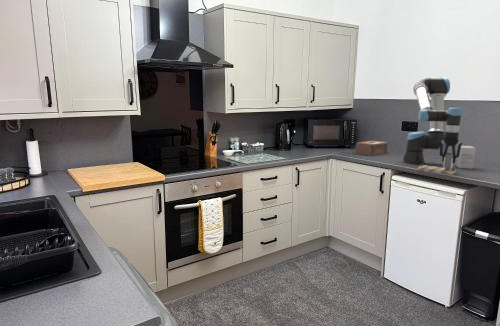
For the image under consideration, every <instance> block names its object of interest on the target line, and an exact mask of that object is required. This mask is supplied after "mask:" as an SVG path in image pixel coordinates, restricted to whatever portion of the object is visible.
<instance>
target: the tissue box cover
mask: <svg viewBox="0 0 500 326" xmlns="http://www.w3.org/2000/svg"><path fill="white" fill-rule="evenodd" d="M388 143H389V142H387V141H379V140H378V141H377V140H368V141H359V142H355V155H361V154H362V156H367V155H368V156H369V157H372V156H379V155H386V154H388Z"/></svg>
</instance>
